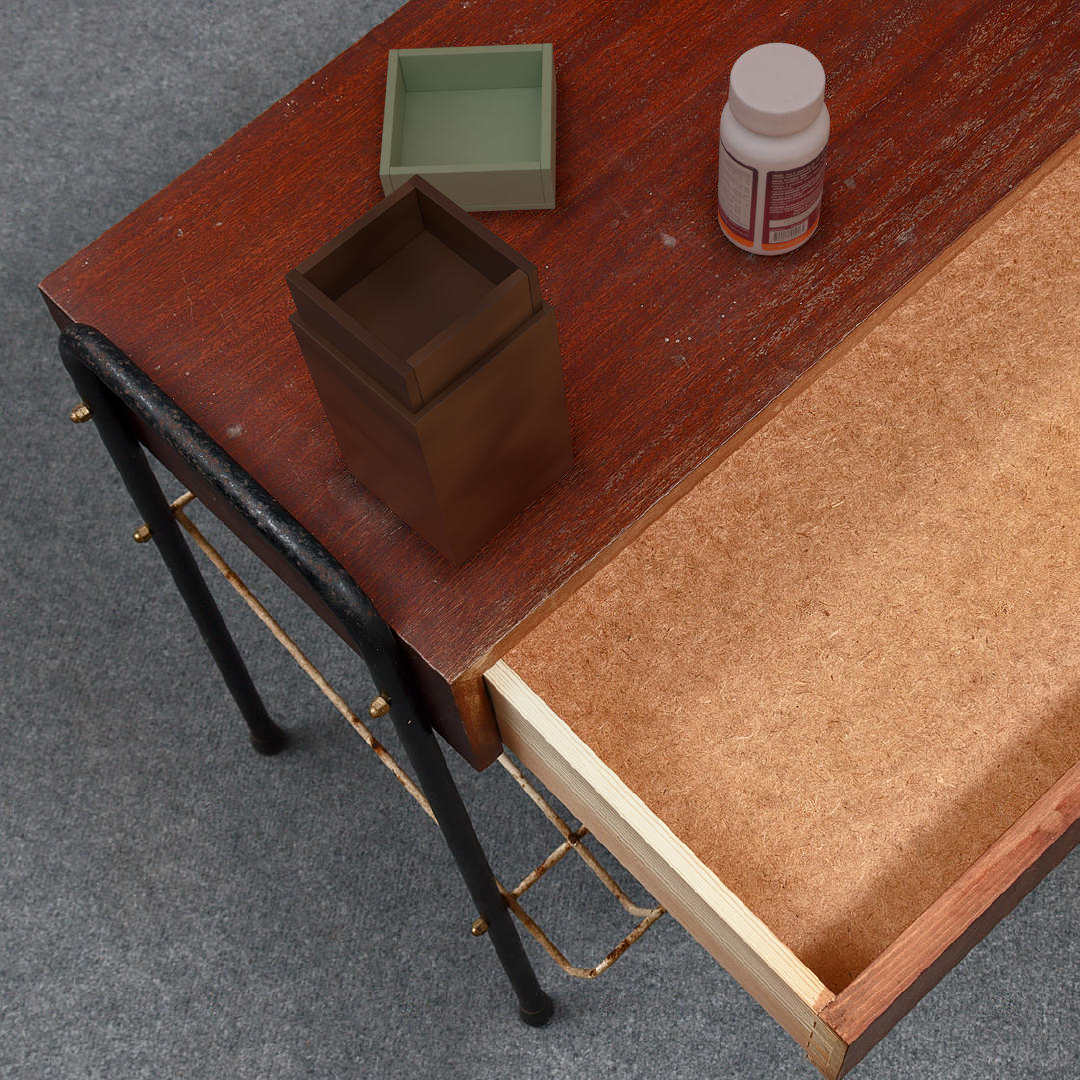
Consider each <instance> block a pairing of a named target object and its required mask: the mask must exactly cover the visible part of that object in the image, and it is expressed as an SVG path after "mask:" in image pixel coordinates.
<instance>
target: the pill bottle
mask: <svg viewBox="0 0 1080 1080" xmlns="http://www.w3.org/2000/svg"><path fill="white" fill-rule="evenodd" d="M825 91H826V73H825V70H824V67H823V65H822V63H821V61H820V60H819V59H818V58H817V57H816V56H815V55H814V54H813V53H812V52H810V51H809V50H807V49H806V48H803V47H802V46H799V45H796V44H790V43H786V42H769V43H764V44H759V45H757V46H755V47H753V48H752V47H751V48H750V49H749V50H747V51H745V52H744V53H743V54H741V55H740V56H739V57H738V58H737V60H736V61H735V62H734V64H733V65H732V68H731V71H730V76H729V89H728V98H727V99H728V100H727V101H726V103H725V104H724V106H723V109H722V112H721V116H720V121H719V122H720V123H719V150H718V151H719V152H718V155H719V156H718V182H717V183H718V185H717V187H718V188H717V220H718V223H719V226H720V229H721V231H722V233H723V235H725V237H726V238H727V239H728V240H729V241H730V242H731V243H732V244H734V245H735V246H736V247H737V248H739V249H741V250H743V251H744V252H748V253H751V254H755V255H761V256H779V255H784V254H786V253H787V254H788V253H790V252H793V251H794V250H796V249H798V248H799V247H801V246H803V245H805V243H806V242H808V241H809V239H810V238H811V237H812V236H813V234H814V233H815V231H816V229H817V227H818V225H819V220H820V215H821V208H822V198H823V191H824V181H825V171H826V164H827V154H828V146H829V140H830V131H831V118H830V114H829V109H828V108H827V105H826V102H825Z"/></svg>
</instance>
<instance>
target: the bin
mask: <svg viewBox="0 0 1080 1080" xmlns="http://www.w3.org/2000/svg"><path fill="white" fill-rule="evenodd" d="M387 62H388V63H387V74H386V86H385V87H386V88H385V99H384V100H385V101H384V102H385V103H384V110H383V122H382V123H383V124H382V125H383V126H382V136H381V150H380V163H379V174H378V175H379V178H380V182H381V187H382V190H383V193H384V198H386V197H387V196H388V195H390V194H391V193H392V192H393V191H395V190H396V189H397V188H399V187H400V186H401V185H403V184H404V183H405V182H407V181H408V180H409V179H410V178H411V177H413V176H414V175H415V174H418V175H419V176H421V177H422V178H423V179H425V180H426V181H427V182H428V183H430V184H431V185H432V186H434V187H435V188H436V189H437V190H439V191H440V192H441V193H443V194H444V195H445V196H447V197H448V198H449V199H450V200H452V201H453V202H454V203H456V204H457V205H458V206H459V207H461V208H462V209H463V210H465V211H466V212H467V213H471V212H473V213H474V212H499V211H500V212H501V211H502V212H504V211H531V210H554V209H556V177H557V176H556V173H557V170H556V169H557V168H556V166H557V165H556V164H557V88H558V87H557V77H556V67H555V66H556V65H555V56H554V47H553V43H552V42H549V43H547V42H545V43H544V42H543V43H526V44H501V45H500V44H498V45H497V44H496V45H474V46H473V45H472V46H471V45H470V46H449V47H447V46H446V47H425V48H424V47H423V48H422V47H421V48H420V47H419V48H399V49H397V48H396V49H394V48H393V49H389V51H388V60H387Z"/></svg>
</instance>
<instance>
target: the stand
mask: <svg viewBox="0 0 1080 1080" xmlns="http://www.w3.org/2000/svg"><path fill="white" fill-rule="evenodd" d="M284 279H285V283H286V285H287V287H288V290H289V292H290V294H291V298H292V300H293V303H294V305H295V308H296V310H295V311H293V312H292V313H291V314H289V315H288V317H287V318H288V320H289V323H290V326H291V328H292V331H293V333H294V336H295V339H296V341H297V343H298V346H299V349H300V352H301V354H302V356H303V359H304V362H305V364H306V366H307V369H308V372H309V374H310V377H311V379H312V381H313V385H314V386H315V390H316V393H317V394H318V397H319V399H320V402H321V404H322V407H323V410H324V412H325V415H326V417H327V420H328V423H329V425H330V428H331V430H332V433H333V435H334V438H335V441H336V443H337V445H338V447H339V450H340V453H341V455H342V459H343V460H344V461H343V462H344V463H345V465H346V468H347V471H348V472H349V473H350V475H352V476H353V477H354V478H355V479H356V480H357V481H358V482H360V483H361V485H363V486H364V487H365V489H368V491H369V492H371V493H372V494H373V495H374V496H375V497H377V499H379V500H380V501H381V502H382V503H383V504H384V505H385V506H386V507H387V508H388V509H390V511H392V512H393V513H394V514H395V515H396V516H398V518H400V519H401V520H402V521H403V522H404V523H405V524H406V525H407V526H408V527H410V528H411V530H413V531H414V532H415V533H416V534H417V535H419V536H420V537H421V538H422V539H423V540H424V541H425V542H426V543H428V544H429V545H430V546H431V547H432V548H433V549H434V550H436V552H438V553H439V554H440V555H441V556H442V557H443V558H444V559H445V560H447V562H449V563H450V564H451V565H452V566H453V567H454V568H456V569H459V568H460V567H461V566H462V565H463V564H465V563H466V561H467V560H469V559H470V558H471V557H472V556H474V555H475V554H476V553H477V552H478V551H479V550H480V549H481V548H483V547H484V546H485V545H486V544H487V543H488V542H489V541H490V540H492V539H493V538H494V537H495V536H496V535H497V534H498V533H499V532H501V531H502V530H503V529H504V528H505V527H506V526H507V525H508V524H509V523H511V522H512V521H513V520H514V519H516V517H518V516H519V515H520V514H521V513H523V511H524V510H525V509H526V508H528V507H529V506H530V505H531V504H532V503H534V502H535V501H536V500H537V499H538V498H539V497H540V496H541V495H542V494H543V493H544V492H547V490H548V489H549V488H550V487H551V486H553V485H554V484H555V483H556V482H557V481H558V480H559V479H561V478H562V477H563V476H564V475H565V474H566V473H567V472H569V471H570V470H571V469H572V468H573V467H575V457H574V450H573V449H574V448H573V442H572V441H573V440H572V435H571V434H572V432H571V425H570V418H569V417H570V416H569V410H568V402H567V401H568V400H567V394H566V386H565V378H564V370H563V362H562V361H563V360H562V353H561V346H560V338H559V330H558V321H557V314H556V307H554V306H553V305H552V304H550V303H549V302H548V301H547V300H545V299H544V298H543V297H542V291H541V284H540V283H541V282H540V276H539V268H538V266H537V265H536V264H535V263H533V262H532V261H530V259H528V258H526V257H525V256H524V255H523V254H522V253H520V252H519V251H518V250H516V249H515V248H513V246H511V245H510V244H509V243H507V242H506V241H505V240H503V239H502V238H501V237H500V236H498V235H497V233H494V231H491V230H490V229H489V228H488V227H486V226H485V225H484V224H483V223H482V222H480V221H479V220H478V219H476V218H475V217H474V216H472V215H471V214H470V213H469V212H466V211H465V210H463V209H462V208H461V207H459V206H458V205H457V204H456V203H454V202H453V201H452V200H450V199H449V198H448V197H447V196H445V195H444V194H443V193H441V192H440V191H439V190H437V189H436V188H435V187H434V186H432V185H431V184H430V183H428V182H427V181H426V180H425V179H423V178H422V177H421V176H419V175H418V174H415V175H414V176H413V177H411V178H410V179H409V180H408V181H407V182H405V183H404V184H403V185H401V186H400V187H399V188H397V189H396V190H395V191H393V192H392V193H391V194H390V195H388V196H387V197H384V198H383V199H382V200H380V201H379V202H378V203H376V204H375V205H374V206H372V207H371V208H369V210H367V211H366V212H365V213H364V214H362V215H361V216H360V217H358V218H357V219H356V220H354V221H353V222H352V223H351V224H349V225H348V226H347V227H345V228H344V229H342V231H340V232H339V233H337V234H336V235H335V236H334V237H332V238H331V239H329V240H328V241H327V242H326V243H324V244H323V245H321V246H320V247H319V248H318V249H317V250H316V251H314V252H312V253H311V254H310V255H309V256H308V257H306V258H305V259H304V260H302V261H301V262H300V263H298V264H297V265H296V266H295V267H294V268H292V269H291V270H289V271H288V272H287V273H285V274H284Z"/></svg>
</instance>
